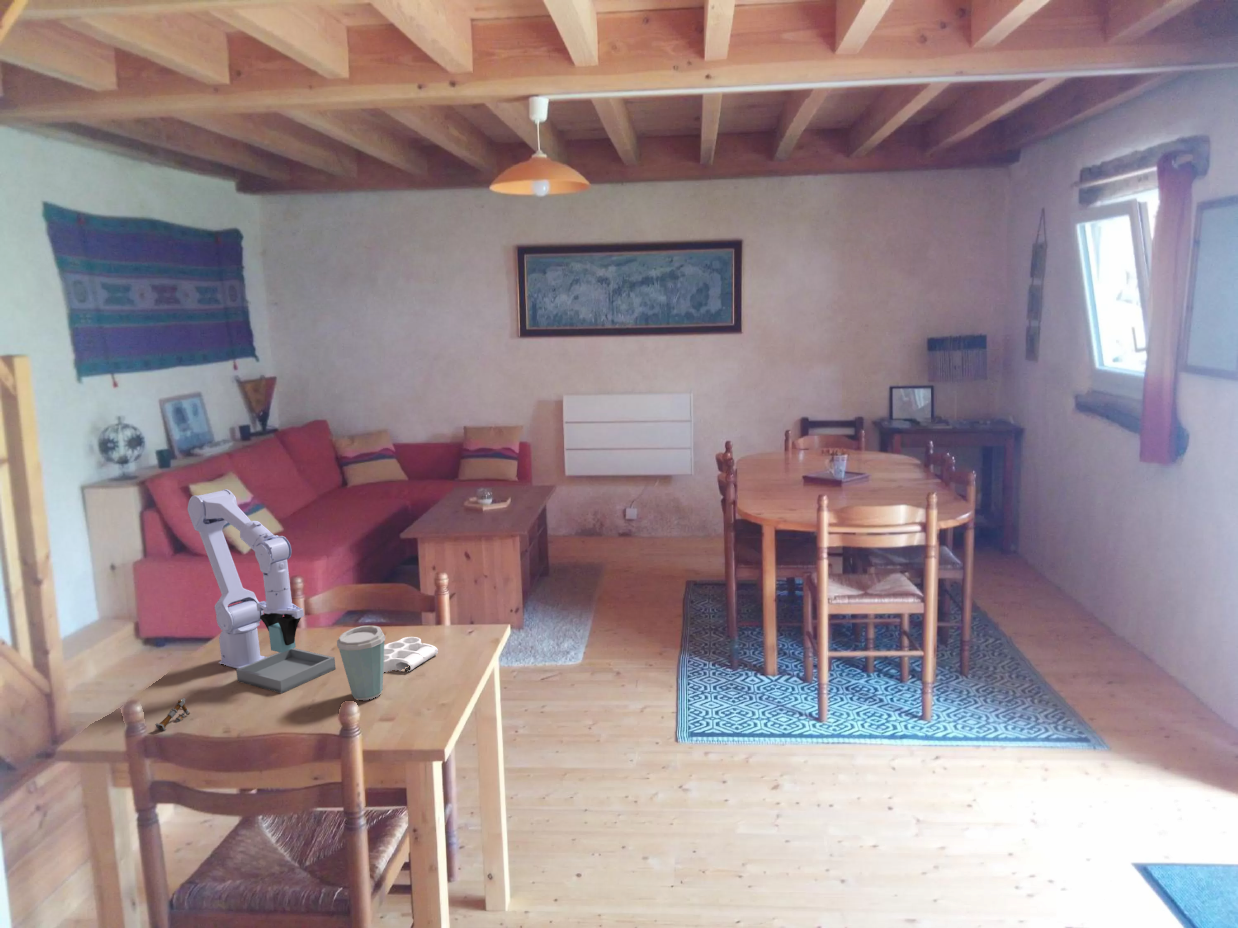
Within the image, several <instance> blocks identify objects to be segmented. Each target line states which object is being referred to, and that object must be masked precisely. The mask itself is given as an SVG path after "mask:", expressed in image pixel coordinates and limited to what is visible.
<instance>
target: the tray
mask: <svg viewBox="0 0 1238 928" xmlns="http://www.w3.org/2000/svg"><path fill="white" fill-rule="evenodd" d="M265 657H266V658H264V659H261V660H259V661H256V662H254V663H251V664H249V665H246V666H244V667H242V668H239V669H237V668H236V678H237V680H236V681H237V682H238V681H239V682H238V683H241V684H245V685H249V686H253V687H256V688H257V687H258V688H261V689H264V690H268V691H271V692H275V693H278V694H284V693H286V692H288V691H291V690H293V689H295V688H297V687H299V686H302V685H304V684H305V683H308V682H310V681H312V680H315V679H317V678H319V677H321V676H323V675H325V674H328V673H330V672H333V671H334V670H336V669H337V668H336V659H335V656H329V655H326V654H321V653H316V652H314V651H313V652H311V651H308V650H304V649H299V648H296V647H295V648H293V649H290V650H288V651H285V652H283V653H281V652H276V653H274V654H271V655H269V656H265Z"/></svg>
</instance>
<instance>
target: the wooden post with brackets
mask: <svg viewBox="0 0 1238 928" xmlns="http://www.w3.org/2000/svg"><path fill="white" fill-rule="evenodd" d="M185 703H186V698H185V697H184V698H179V700H177V703H176V705H175V706H174V707H173V708H172V709H171V710H169V711H170V712H168V713H167V715H166V717H165V718H164V719H163V720H162V721H160V722H159V723H157V722H156V724H155V726H156V728H157V730H158V731H159V730H160V731H166V730H167V729H166V727H167V726H168V724H169V722H170V721H171V720H172V719H173V718H174V717H175V716H176V715H177V714H178V711H179V710H182V711H183V712H181V714H180V713H179V714H178V716H177V717H175V719H176V720H175V722H176V723H179V722H181V721H182V720H183V719H185V714H186V715H188V716H189V715H190V714H191V712H190V711H189V709H188V708H187V706H186V705H185Z"/></svg>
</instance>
